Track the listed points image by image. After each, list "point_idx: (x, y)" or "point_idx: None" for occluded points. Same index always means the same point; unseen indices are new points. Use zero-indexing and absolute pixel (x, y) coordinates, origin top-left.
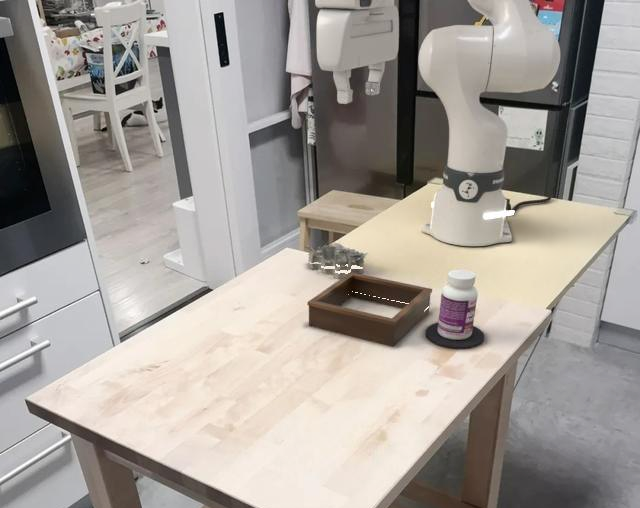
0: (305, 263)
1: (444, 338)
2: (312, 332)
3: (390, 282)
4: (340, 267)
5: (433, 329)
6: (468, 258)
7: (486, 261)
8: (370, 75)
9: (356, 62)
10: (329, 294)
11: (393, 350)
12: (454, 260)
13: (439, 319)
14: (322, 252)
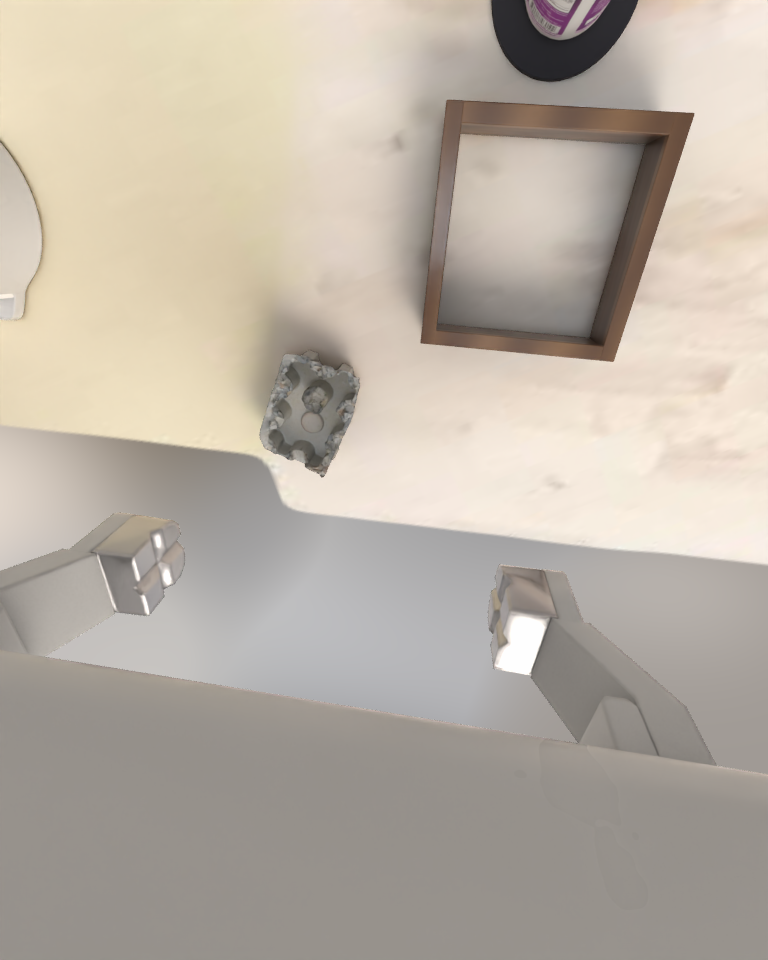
0: None
1: None
2: None
3: (446, 229)
4: (359, 385)
5: (557, 57)
6: (85, 143)
7: (70, 83)
8: (69, 631)
9: (668, 806)
10: (546, 339)
11: None
12: (120, 176)
13: (596, 14)
14: (295, 447)
